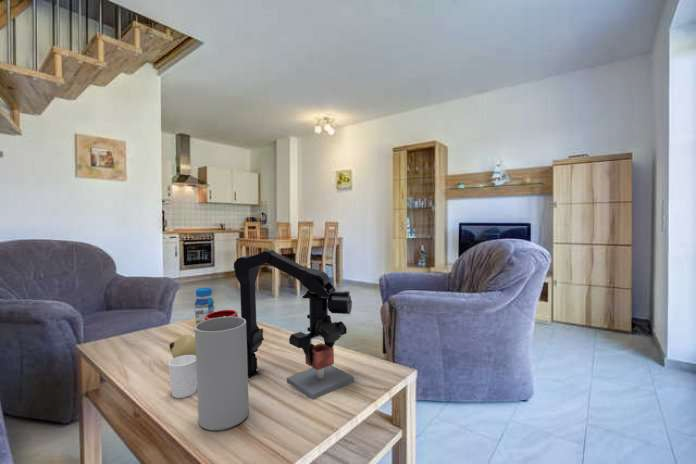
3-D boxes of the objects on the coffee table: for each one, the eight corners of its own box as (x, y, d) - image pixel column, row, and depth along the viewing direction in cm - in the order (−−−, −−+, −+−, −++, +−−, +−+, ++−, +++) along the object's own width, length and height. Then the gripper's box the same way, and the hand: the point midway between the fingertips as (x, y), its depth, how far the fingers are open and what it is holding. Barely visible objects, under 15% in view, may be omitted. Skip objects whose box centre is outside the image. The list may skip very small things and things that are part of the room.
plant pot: (226, 333, 155) (225, 307, 154) (244, 339, 147) (243, 312, 146) (199, 342, 144) (198, 314, 143) (217, 349, 136) (216, 319, 136)
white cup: (179, 402, 97) (178, 368, 97) (164, 395, 101) (162, 362, 101) (204, 390, 104) (202, 358, 104) (188, 383, 108) (187, 353, 108)
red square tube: (317, 370, 103) (317, 354, 103) (305, 363, 108) (305, 348, 108) (333, 363, 107) (333, 348, 107) (321, 357, 112) (321, 342, 112)
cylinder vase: (198, 437, 81) (194, 335, 80) (198, 410, 93) (195, 320, 92) (252, 424, 86) (248, 327, 85) (245, 400, 98) (243, 314, 97)
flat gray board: (312, 399, 97) (312, 379, 97) (286, 382, 108) (286, 363, 108) (353, 381, 108) (353, 362, 108) (326, 366, 118) (326, 350, 118)
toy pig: (190, 354, 131) (189, 327, 131) (208, 361, 125) (207, 333, 124) (164, 364, 123) (163, 335, 123) (183, 372, 116) (181, 341, 116)
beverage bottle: (218, 331, 158) (216, 288, 158) (200, 335, 152) (198, 291, 151) (210, 327, 164) (208, 286, 163) (192, 331, 158) (190, 289, 157)
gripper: (308, 324, 95) (309, 379, 95) (357, 311, 107) (358, 360, 108) (287, 316, 103) (289, 366, 104) (335, 304, 115) (336, 349, 116)
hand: (319, 360), depth 108 cm, fingers closed on red square tube, 6 cm apart
